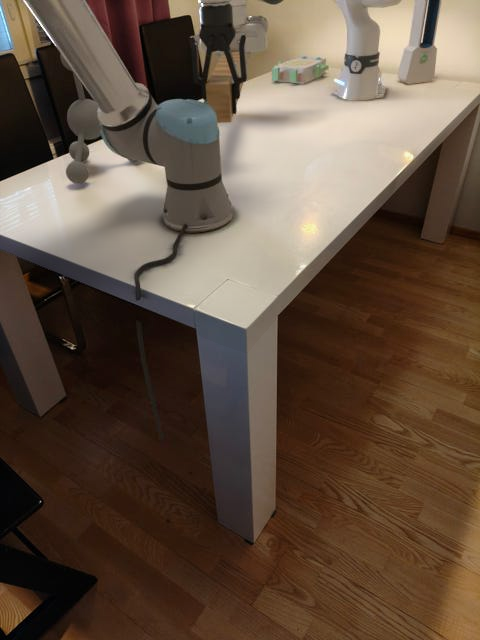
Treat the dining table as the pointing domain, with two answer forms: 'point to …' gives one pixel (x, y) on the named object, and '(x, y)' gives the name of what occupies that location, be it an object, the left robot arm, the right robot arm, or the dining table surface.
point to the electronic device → (421, 44)
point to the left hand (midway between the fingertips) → (222, 112)
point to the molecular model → (81, 131)
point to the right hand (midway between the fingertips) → (235, 69)
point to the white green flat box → (299, 70)
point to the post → (222, 88)
